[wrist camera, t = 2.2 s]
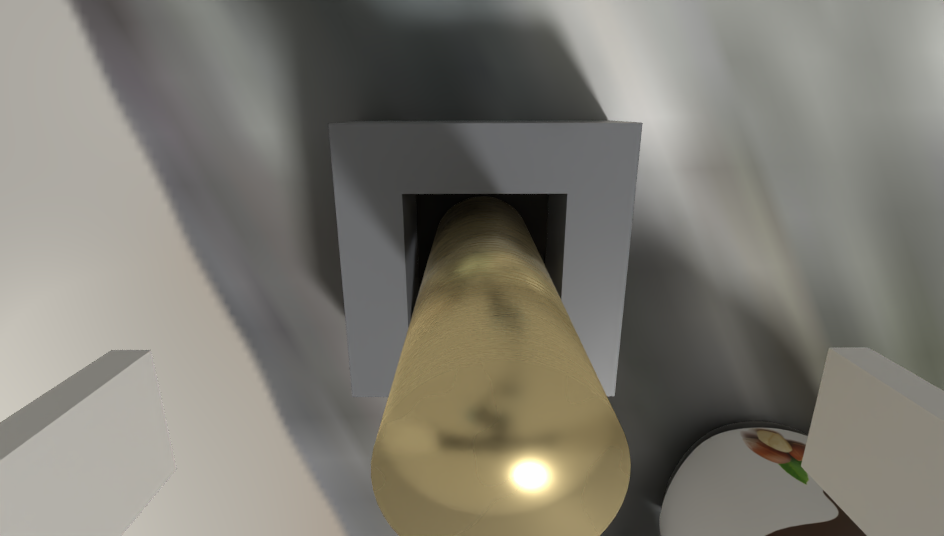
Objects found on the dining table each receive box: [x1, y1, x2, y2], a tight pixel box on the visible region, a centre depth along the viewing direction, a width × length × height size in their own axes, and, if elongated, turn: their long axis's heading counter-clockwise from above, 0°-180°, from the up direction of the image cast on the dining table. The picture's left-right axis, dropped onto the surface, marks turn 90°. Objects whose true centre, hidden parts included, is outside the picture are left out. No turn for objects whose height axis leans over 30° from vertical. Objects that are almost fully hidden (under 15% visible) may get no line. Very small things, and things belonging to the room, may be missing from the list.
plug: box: [371, 196, 631, 536], centre depth 14 cm, size 4×4×14 cm
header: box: [328, 120, 642, 397], centre depth 19 cm, size 10×10×4 cm
